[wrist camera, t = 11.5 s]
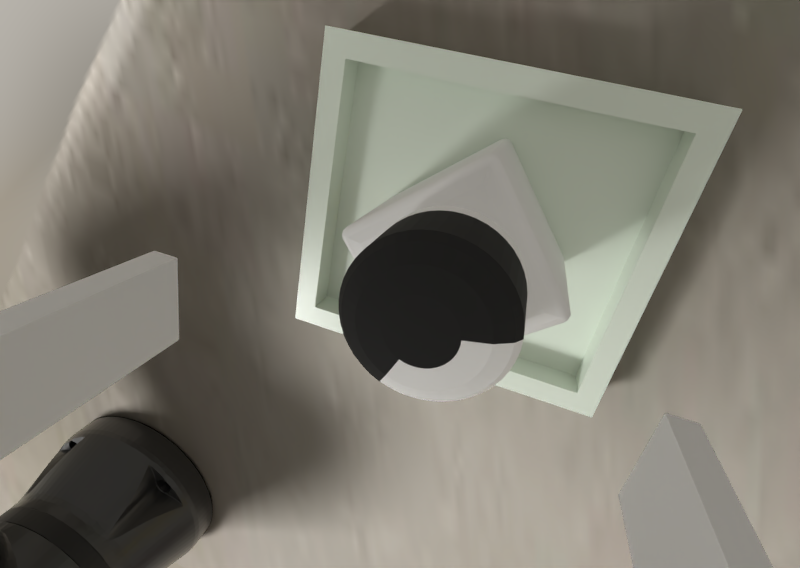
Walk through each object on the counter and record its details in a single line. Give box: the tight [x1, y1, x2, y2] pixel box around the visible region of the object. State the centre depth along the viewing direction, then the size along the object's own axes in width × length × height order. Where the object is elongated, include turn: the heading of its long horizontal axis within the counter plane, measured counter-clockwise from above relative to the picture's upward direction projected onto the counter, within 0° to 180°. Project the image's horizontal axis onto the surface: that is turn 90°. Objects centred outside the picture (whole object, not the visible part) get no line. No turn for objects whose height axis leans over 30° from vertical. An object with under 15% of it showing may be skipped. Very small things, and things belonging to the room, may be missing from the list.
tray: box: [295, 25, 743, 417], centre depth 24 cm, size 18×16×2 cm
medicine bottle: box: [339, 138, 571, 402], centre depth 19 cm, size 7×7×12 cm
